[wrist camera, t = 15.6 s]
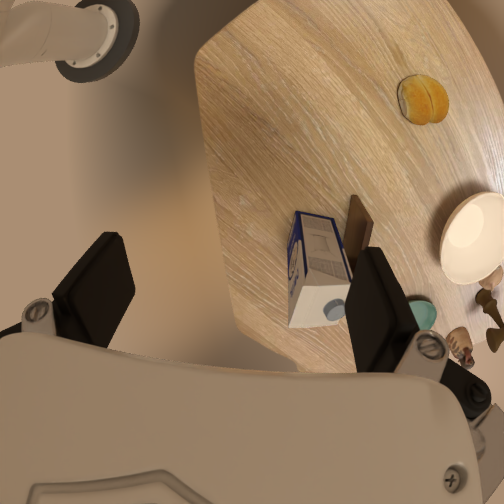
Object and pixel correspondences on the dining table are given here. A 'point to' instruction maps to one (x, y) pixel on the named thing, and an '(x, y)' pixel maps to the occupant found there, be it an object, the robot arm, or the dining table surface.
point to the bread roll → (423, 100)
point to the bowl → (473, 239)
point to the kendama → (490, 308)
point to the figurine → (461, 347)
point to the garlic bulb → (492, 279)
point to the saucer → (423, 313)
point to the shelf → (356, 231)
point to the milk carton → (316, 272)
